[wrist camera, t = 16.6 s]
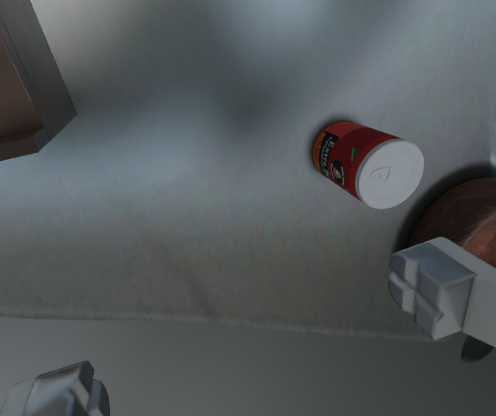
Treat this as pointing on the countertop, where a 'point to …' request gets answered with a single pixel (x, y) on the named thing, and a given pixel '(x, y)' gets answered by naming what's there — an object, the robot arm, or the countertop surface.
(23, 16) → the shelf
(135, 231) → the countertop surface
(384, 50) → the countertop surface
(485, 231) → the wooden bowl
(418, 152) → the canned food
